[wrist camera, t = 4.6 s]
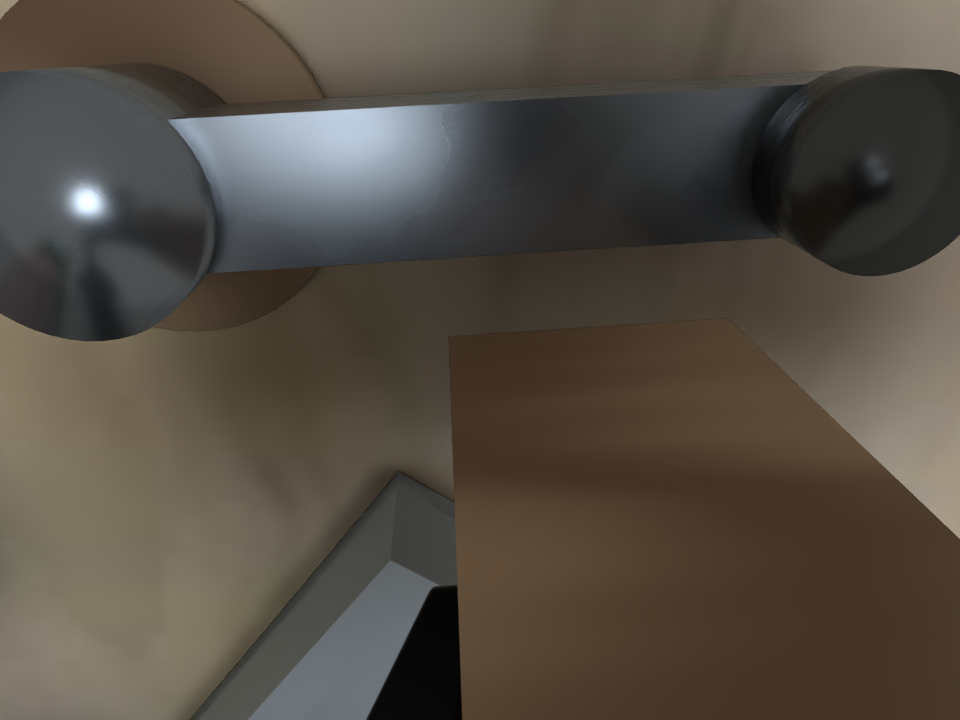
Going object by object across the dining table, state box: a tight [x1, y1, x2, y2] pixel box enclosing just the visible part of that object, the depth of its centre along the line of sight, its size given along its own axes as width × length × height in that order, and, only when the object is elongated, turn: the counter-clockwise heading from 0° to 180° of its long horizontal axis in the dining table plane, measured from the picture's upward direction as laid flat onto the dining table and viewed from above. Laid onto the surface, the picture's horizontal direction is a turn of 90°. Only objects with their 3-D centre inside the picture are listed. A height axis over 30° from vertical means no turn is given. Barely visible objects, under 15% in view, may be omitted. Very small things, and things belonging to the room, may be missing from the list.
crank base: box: [0, 0, 325, 332], centre depth 14 cm, size 6×20×1 cm, turn 53°
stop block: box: [449, 318, 960, 720], centre depth 7 cm, size 4×5×8 cm
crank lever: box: [0, 63, 960, 341], centre depth 10 cm, size 14×4×4 cm, turn 93°
